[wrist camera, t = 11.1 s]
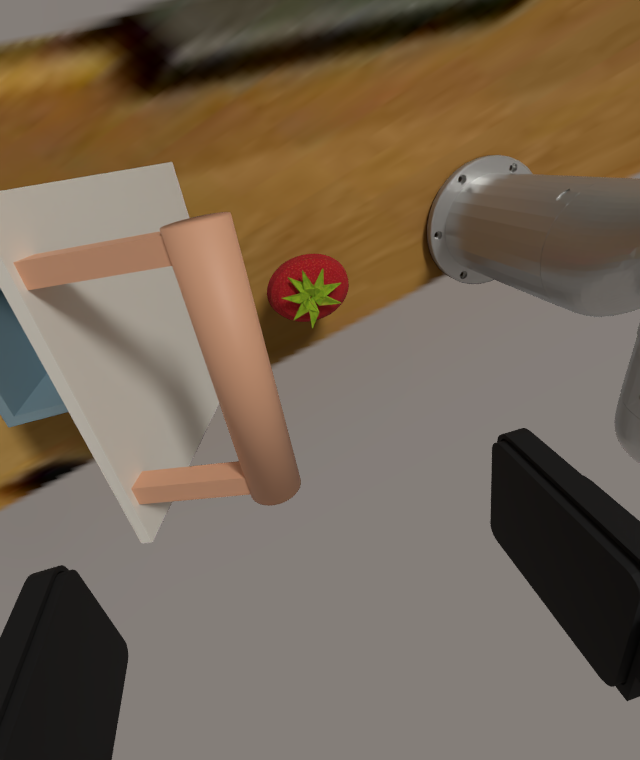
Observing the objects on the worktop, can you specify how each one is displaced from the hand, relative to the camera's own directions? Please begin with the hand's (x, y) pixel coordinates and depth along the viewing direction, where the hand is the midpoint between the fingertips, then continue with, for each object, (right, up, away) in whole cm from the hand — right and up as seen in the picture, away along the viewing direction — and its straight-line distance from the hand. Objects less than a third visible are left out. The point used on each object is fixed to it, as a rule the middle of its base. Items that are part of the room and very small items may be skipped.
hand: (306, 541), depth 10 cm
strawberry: (-2, +14, +34) cm, 37 cm away
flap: (-9, +7, +16) cm, 19 cm away
